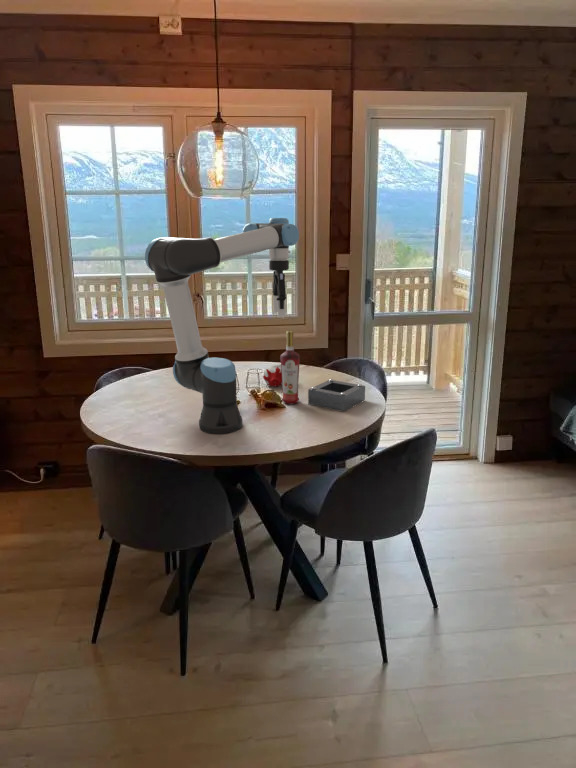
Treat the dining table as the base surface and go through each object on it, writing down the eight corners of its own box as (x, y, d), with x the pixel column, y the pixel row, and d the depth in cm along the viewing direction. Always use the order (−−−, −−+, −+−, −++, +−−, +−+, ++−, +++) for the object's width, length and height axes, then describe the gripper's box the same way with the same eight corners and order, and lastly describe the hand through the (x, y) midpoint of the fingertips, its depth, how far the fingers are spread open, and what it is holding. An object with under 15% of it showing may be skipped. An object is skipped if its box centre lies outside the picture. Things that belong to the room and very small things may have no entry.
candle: (289, 379, 258) (289, 393, 244) (264, 379, 258) (262, 393, 244) (289, 360, 254) (288, 373, 241) (263, 360, 255) (261, 373, 241)
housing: (344, 411, 218) (344, 394, 216) (308, 404, 227) (308, 387, 225) (364, 400, 230) (365, 384, 228) (329, 393, 239) (330, 378, 237)
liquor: (281, 405, 225) (280, 334, 217) (281, 399, 232) (279, 330, 224) (300, 405, 226) (299, 333, 217) (299, 399, 233) (299, 329, 225)
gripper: (293, 261, 214) (293, 319, 219) (284, 257, 238) (283, 309, 243) (273, 261, 213) (273, 319, 218) (265, 257, 236) (265, 310, 242)
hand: (278, 314), depth 231 cm, fingers open, 13 cm apart
